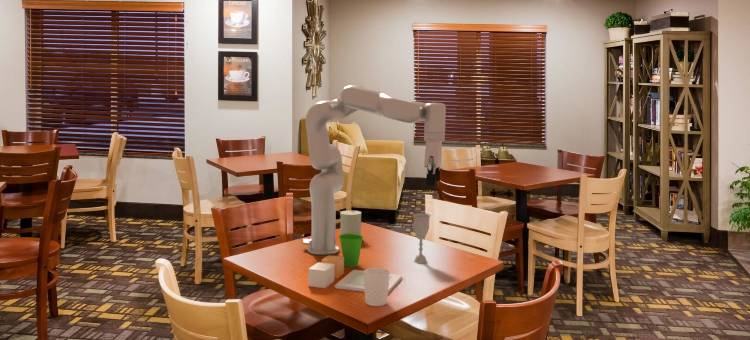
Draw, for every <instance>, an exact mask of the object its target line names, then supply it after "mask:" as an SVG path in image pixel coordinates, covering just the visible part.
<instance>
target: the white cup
mask: <svg viewBox="0 0 750 340" xmlns="http://www.w3.org/2000/svg"><path fill="white" fill-rule="evenodd" d="M363 271H364V288H365V292H364V300H365V301H364V302H365V304H366V305H368V306H371V307H382V306H386V305H387V303H388V297H389V296H388V294H389V293H388V288H389V274H391V271H390V270H389V269H387V268H383V267H369V268H368V267H367V268H366V269H364V270H363Z"/></svg>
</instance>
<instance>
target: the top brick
mask: <svg viewBox="0 0 750 340" xmlns="http://www.w3.org/2000/svg"><path fill="white" fill-rule="evenodd" d="M321 263H328V264H334V279H338V278H340V277H341V276H342V275H344V274H345V273H344V272H345V265H344V257H343V256H338V255H337V256H336V255H326V256H325V257H324V258H322V259H321Z"/></svg>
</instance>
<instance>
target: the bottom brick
mask: <svg viewBox="0 0 750 340" xmlns="http://www.w3.org/2000/svg"><path fill="white" fill-rule="evenodd" d="M307 271H308V275H307V276H308V280H307V283H308V287H315V288H322V289H326V288H327V287H329V286H330V285H331V284H332V283H334V282H335V278H334V264H328V263H322V262H321V261H319V262H316V263H315V264H314V265H311V267H309V268H308V270H307Z"/></svg>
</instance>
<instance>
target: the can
mask: <svg viewBox="0 0 750 340" xmlns="http://www.w3.org/2000/svg"><path fill="white" fill-rule="evenodd" d="M339 214H340V233H339V234H340V235H342V234H348V233H354V234H360V235H362V211H359V210H352V209H351V210H350V209H349V210H342V211H340V213H339ZM340 235H339V236H340Z"/></svg>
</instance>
